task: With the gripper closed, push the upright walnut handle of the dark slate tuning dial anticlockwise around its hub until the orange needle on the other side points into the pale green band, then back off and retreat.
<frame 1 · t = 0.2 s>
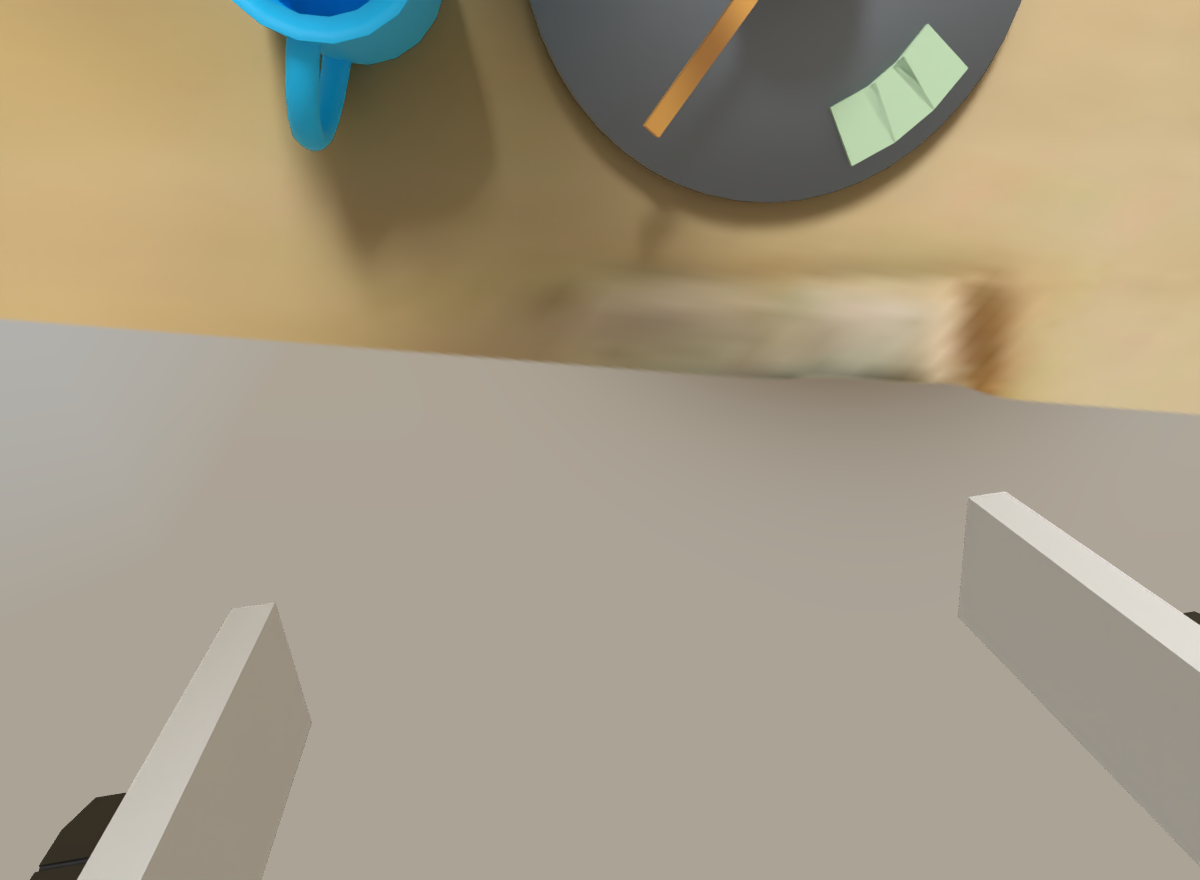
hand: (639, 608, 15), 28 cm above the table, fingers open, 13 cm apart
mug: (347, 10, 35), on the table
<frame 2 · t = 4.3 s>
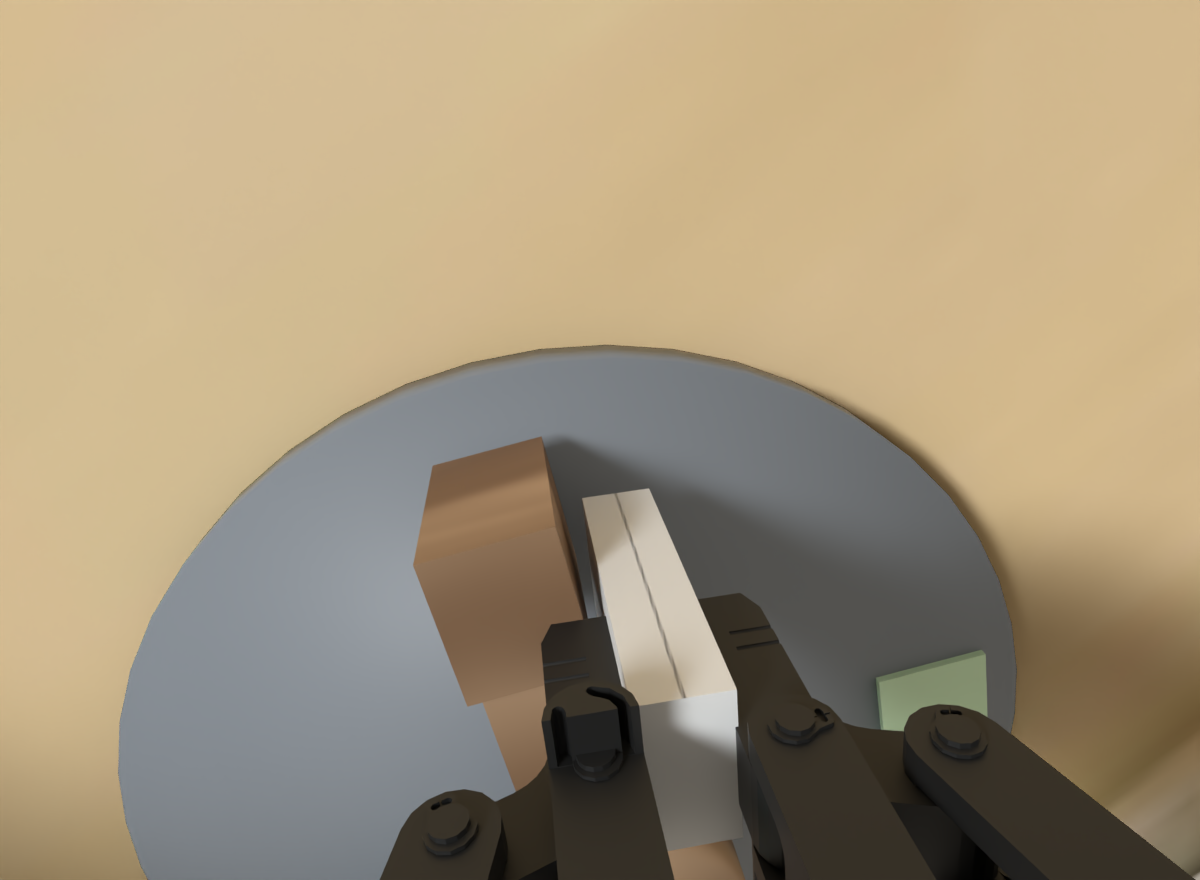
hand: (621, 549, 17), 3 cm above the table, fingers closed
dial plate: (592, 754, 22), on the table
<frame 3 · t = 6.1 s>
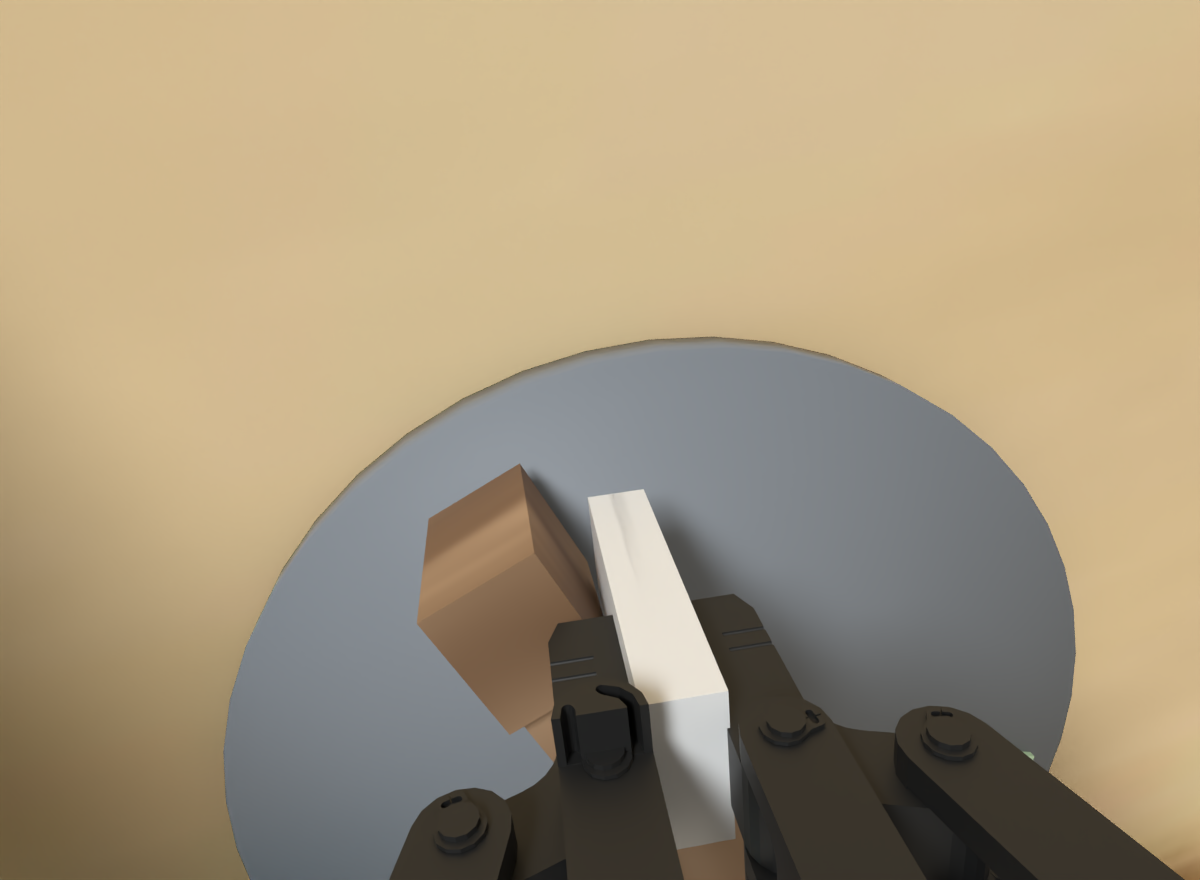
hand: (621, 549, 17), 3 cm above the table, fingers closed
dial plate: (671, 737, 23), on the table
dial arm: (713, 852, 19), point 4 cm above the table, hinge at -4.3°, touching gripper
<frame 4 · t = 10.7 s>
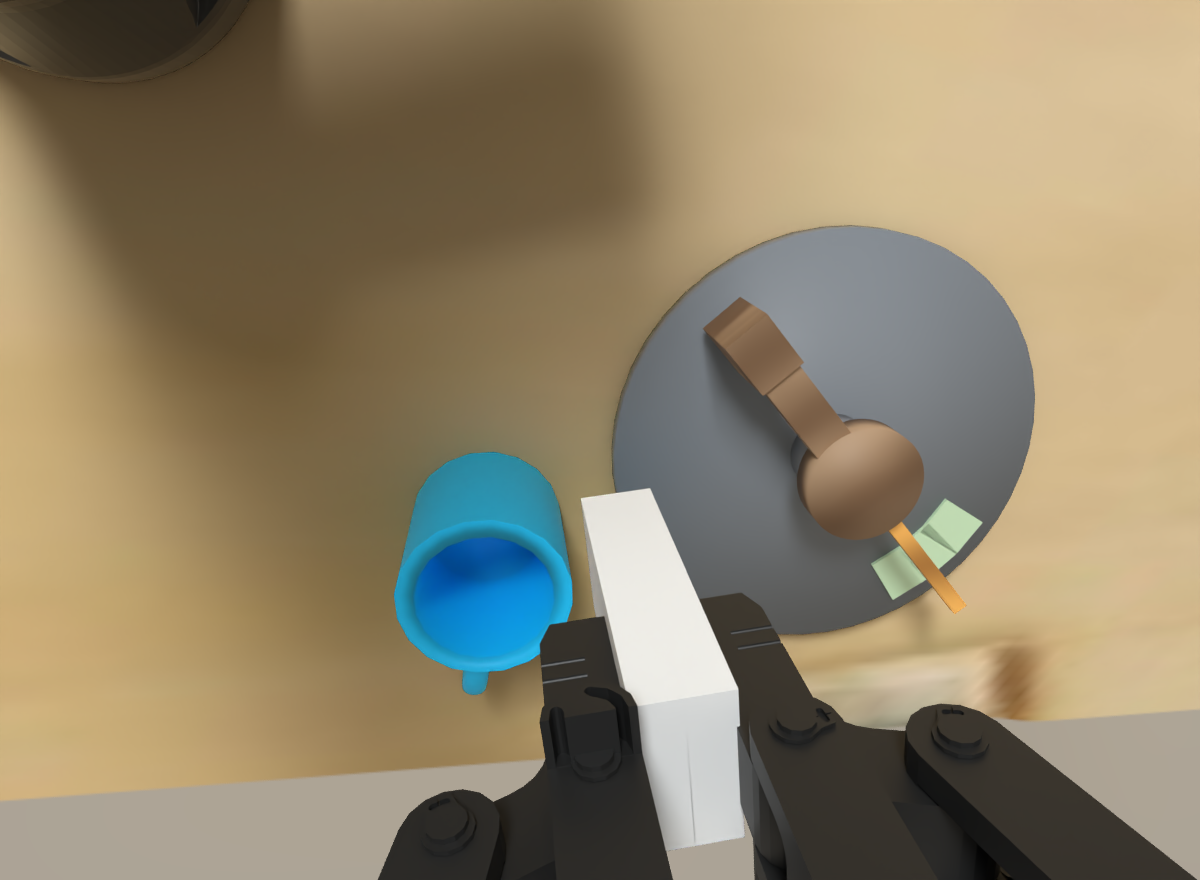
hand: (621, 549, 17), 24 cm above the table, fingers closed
mug: (484, 547, 44), on the table
dial plate: (820, 443, 44), on the table
dial arm: (852, 473, 40), point 4 cm above the table, hinge at 26.8°
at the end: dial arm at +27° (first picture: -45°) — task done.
